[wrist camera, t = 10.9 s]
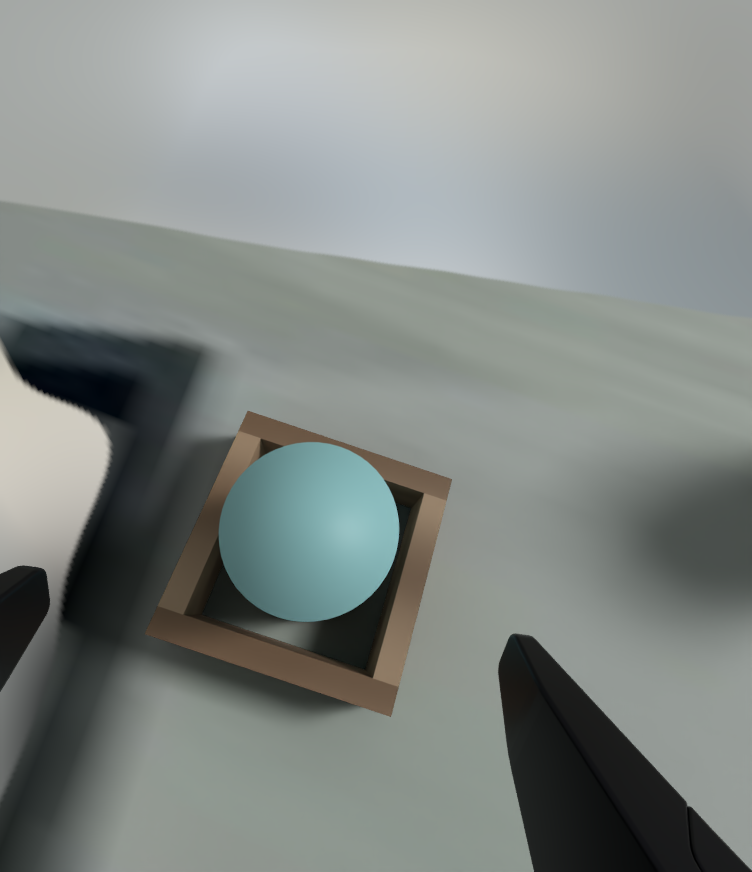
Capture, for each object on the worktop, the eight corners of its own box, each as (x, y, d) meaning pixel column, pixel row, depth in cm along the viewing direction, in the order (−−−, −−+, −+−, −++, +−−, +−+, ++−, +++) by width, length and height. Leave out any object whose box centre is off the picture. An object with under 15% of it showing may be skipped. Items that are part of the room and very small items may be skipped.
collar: (380, 702, 20) (390, 716, 17) (168, 631, 20) (144, 634, 17) (435, 495, 23) (451, 479, 20) (255, 435, 23) (247, 410, 20)
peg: (347, 634, 21) (368, 647, 12) (239, 597, 21) (186, 586, 12) (381, 525, 22) (419, 473, 14) (282, 492, 22) (260, 420, 14)
